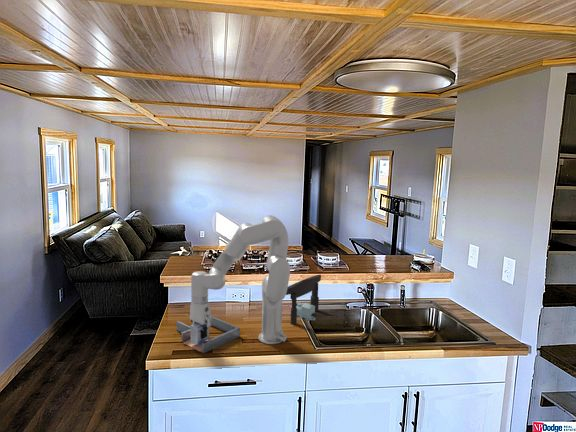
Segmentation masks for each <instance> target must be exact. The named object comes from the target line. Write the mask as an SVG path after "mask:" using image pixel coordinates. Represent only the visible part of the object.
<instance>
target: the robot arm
mask: <svg viewBox="0 0 576 432" xmlns="http://www.w3.org/2000/svg"><path fill="white" fill-rule="evenodd" d="M261 221H262V222H261V223H257V224H252V223H250V222H244V223H242V224H240V225H239V227H238V228H237V230H236V231H235V233H234V235H233V236H232V238H231V239H230V241H229V242H228V244H227V245H226V247H225V249H223V251H222V252H221V254H220V255H219V256H218V257H217V259H215V261H214V263H213V265H212V266H211V268H210V269H209V272H206V271H203V270H201V271H200V270H199V271H194V272H192V274H191V275H190V276H191V277H190V279H191V280H190V282H191V283H190V284H191V286H190V287H191V289H190V290H191V291H190V293H191V295H190V297H191V298H190V299H191V301H190V308H189V318H188V319H190V322H191V323H192V324H191V325H193V324H195V323H199V324H201V329H202V330H201V339H203V338H206V337H207V329H208V328H209V329H210V327H212V326H211V323H210V322H211V316H212V312H211V305H210V301H209V290H213V291H216V290H221V289H223V287H225V285H226V274H227V272H228V271H229V270H230V268H231V267H232V265H234V264H235V263H236V262H238V261H240V260H241V259H242V258H243V256H244V255H245V253H246V251H247V249H249V247H250V246H253V245H257V244H260V243H261V244H262V243H264V242H268V241H270V242H269V250H268V256H267V260H266V267H267V269H268V275H266V276H265V277H264V278H263V279H262V283H261V299H262V303H261V304H262V305H261V306H262V307H261V308H262V309H261V310H262V311H261V332H260V333H259V334H258V340H259V341H260V342H261V343H262V344H266V345H277V344H280V343H284V342H286V340H287V338H288V336H287V335H285V334H284V330H282V326H283V325H282V323H283V300H284V298H285V297H286V296H287V295H286V293H287V288H288V287H289V281H290V275H291V266H290V263H289V261H288V259H287V258H288V250H289V249H288V247H289V234H288V231H287V228H286V226H285V225H284V223H283V222H282V221H281V220H280V219H279V218H278V217H276V215H275V216H274V215H270V214H269V215H266V216H265V217H264V218H262V220H261ZM204 322H205V323H204ZM203 325H205V327H204V326H203Z"/></svg>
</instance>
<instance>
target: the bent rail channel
mask: <svg viewBox="0 0 576 432" xmlns="http://www.w3.org/2000/svg"><path fill="white" fill-rule="evenodd" d="M210 323H211V326H210V327H214V328H216V329H219V330H221V331H222V332H223V333H222V334H219V335H217V336H215V337H212V338H209V339H208V340H207V341H205V342H203V343H202V352H201V353H203V354H205V353H207V352H209V351H211V350H213V349H216V348H218V347H221V346H222V345H225V344H227V343H228V342H231V341H233V340H236V339H238V338H240V337H241V327H239V326H237V325H234V324H232V323H231V322H228V321H225V320H222V319H220V318H217V317H215V316H213V315H211V322H210ZM190 326H191V325H188V324H186V323H184V322H182V321H180V320H177V321H176V331H177V332H180V335H181V336H180V341H181V343H183V342H186V341H188V340H190V339H191V328H190Z"/></svg>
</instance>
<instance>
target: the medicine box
mask: <svg viewBox="0 0 576 432" xmlns="http://www.w3.org/2000/svg"><path fill="white" fill-rule="evenodd" d="M204 323H205V322H204ZM189 326H190V328H191V343H193V344H196V345H199V344H200V343H202V342H204V341H206V340H210V327H209V328H208V329H207V337H206V338H203V339H201V330H202V329H201V324H199V323H195V324H193V325H192V324H191V325H189ZM203 326H204V327H205V325H203Z"/></svg>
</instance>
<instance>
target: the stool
mask: <svg viewBox="0 0 576 432" xmlns="http://www.w3.org/2000/svg"><path fill="white" fill-rule="evenodd" d="M321 280H322V275H321V274H317V275H313V276H310V277H307V278H304V279H302V280H300V281H297V282H295V283H293V284H291V285H288V288H287V293H286V296H287V295H289V296H290V300H291V309H290V324H292V325H296V324H297V320H298V319H297V317H300V319H305V320H306V321H308V320H309V321H315V320H316V316H317V313H315V312H318V311H319V302H320V297H319V282H321ZM309 293H311V295H310V303H306V302H304V303H301V302H298V303H297V300H298V298H300V297H302V296H304V295H307V294H309Z"/></svg>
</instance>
